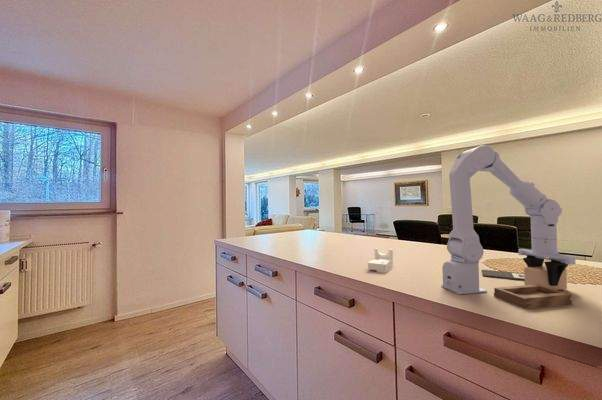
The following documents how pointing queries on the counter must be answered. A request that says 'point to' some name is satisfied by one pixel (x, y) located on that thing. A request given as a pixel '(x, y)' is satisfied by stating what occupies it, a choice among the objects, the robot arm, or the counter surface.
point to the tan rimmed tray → (532, 296)
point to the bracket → (381, 261)
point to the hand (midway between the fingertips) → (545, 283)
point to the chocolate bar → (503, 275)
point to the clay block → (543, 277)
